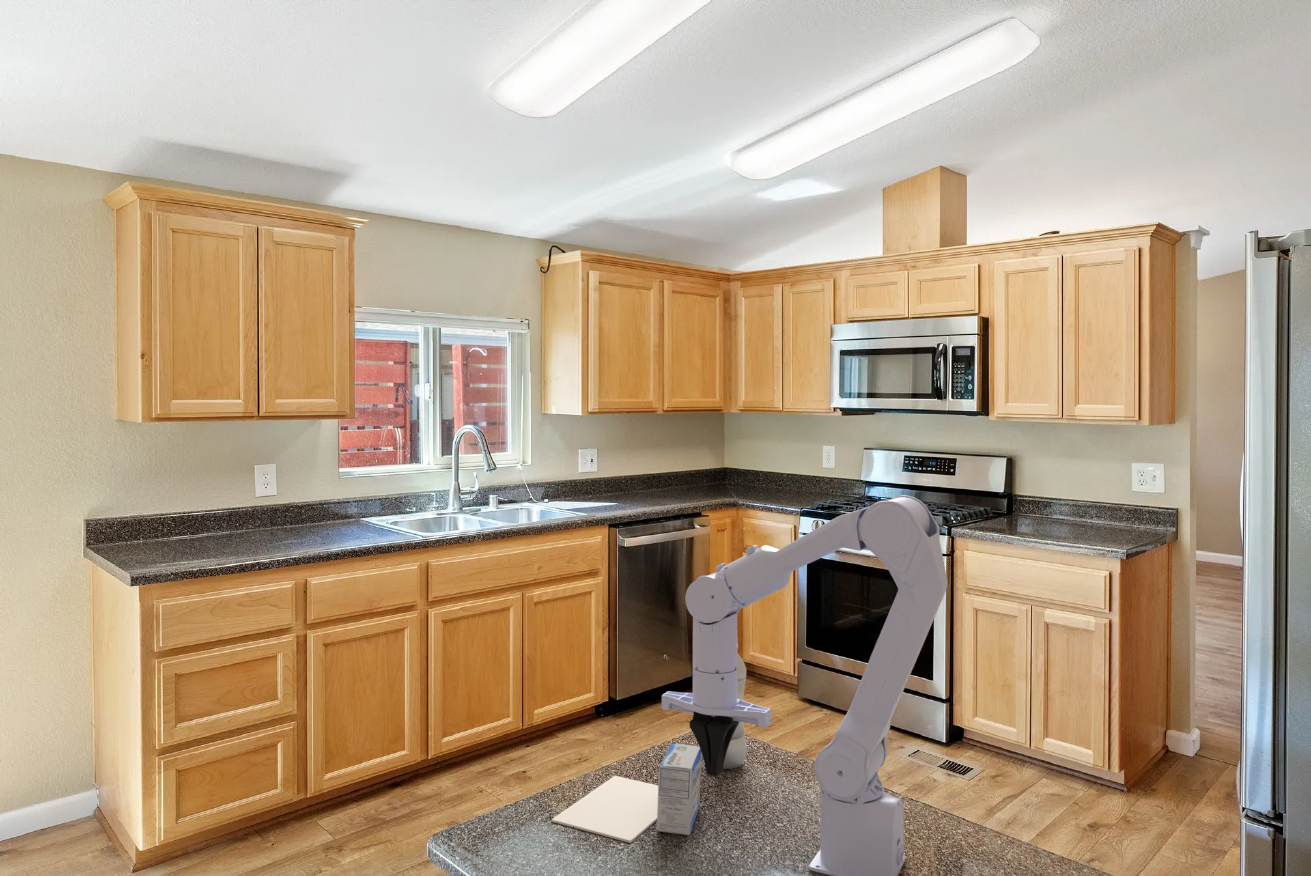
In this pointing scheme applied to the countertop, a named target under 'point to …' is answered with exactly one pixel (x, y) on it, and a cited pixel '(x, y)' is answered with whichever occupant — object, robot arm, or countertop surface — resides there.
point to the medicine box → (679, 789)
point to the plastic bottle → (738, 741)
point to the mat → (614, 809)
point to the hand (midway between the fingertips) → (714, 772)
